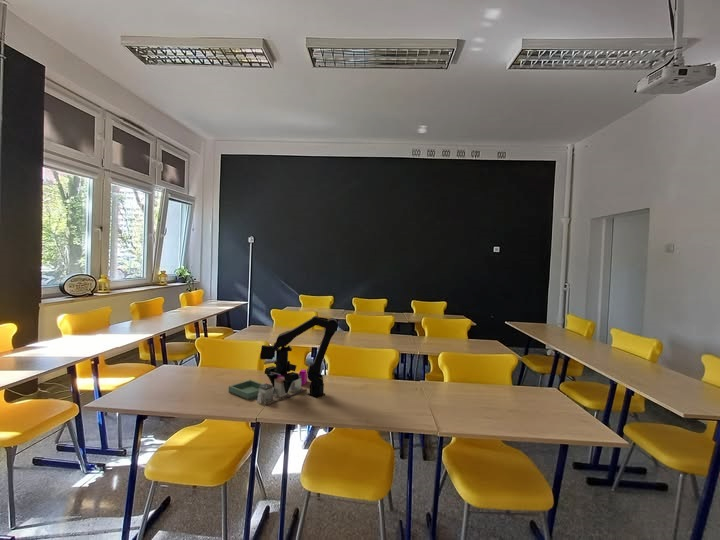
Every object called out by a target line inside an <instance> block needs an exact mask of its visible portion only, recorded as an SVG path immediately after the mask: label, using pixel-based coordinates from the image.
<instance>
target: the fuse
mask: <svg viewBox="0 0 720 540" xmlns="http://www.w3.org/2000/svg"><path fill="white" fill-rule="evenodd" d="M284 380H285V379H284V377H279V378H276V379H274V388H277V389H278V397H277V398H284V397H286V396H288V394H287V393H285V388H284V382H283V381H284Z"/></svg>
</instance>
